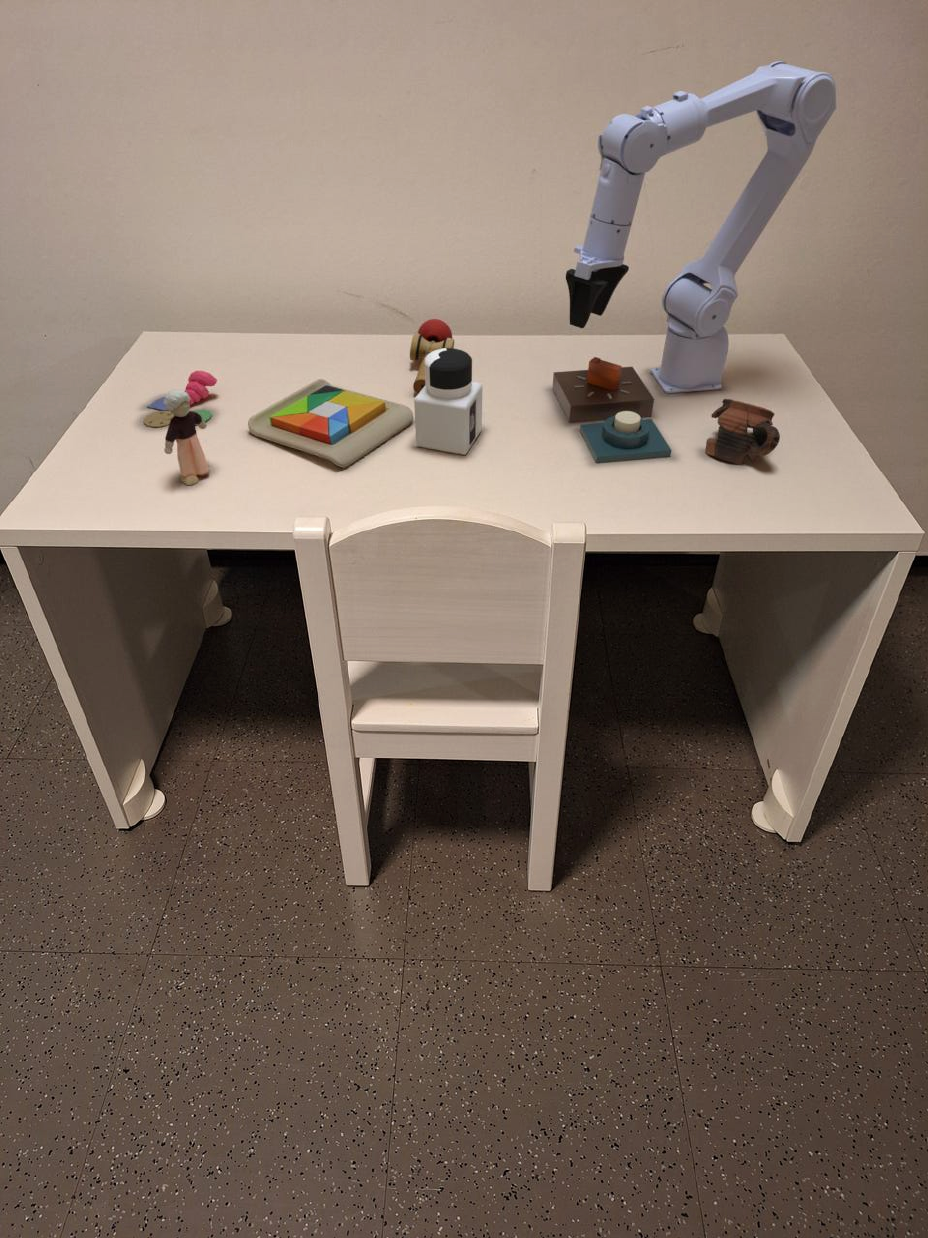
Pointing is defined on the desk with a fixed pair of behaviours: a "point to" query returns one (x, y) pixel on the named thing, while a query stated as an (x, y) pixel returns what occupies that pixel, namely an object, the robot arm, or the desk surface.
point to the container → (448, 403)
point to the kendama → (429, 345)
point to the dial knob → (604, 374)
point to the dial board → (600, 396)
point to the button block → (624, 442)
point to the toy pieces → (195, 392)
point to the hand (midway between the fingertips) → (586, 319)
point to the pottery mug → (742, 432)
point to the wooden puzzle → (331, 422)
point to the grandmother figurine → (185, 437)
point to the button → (627, 422)
